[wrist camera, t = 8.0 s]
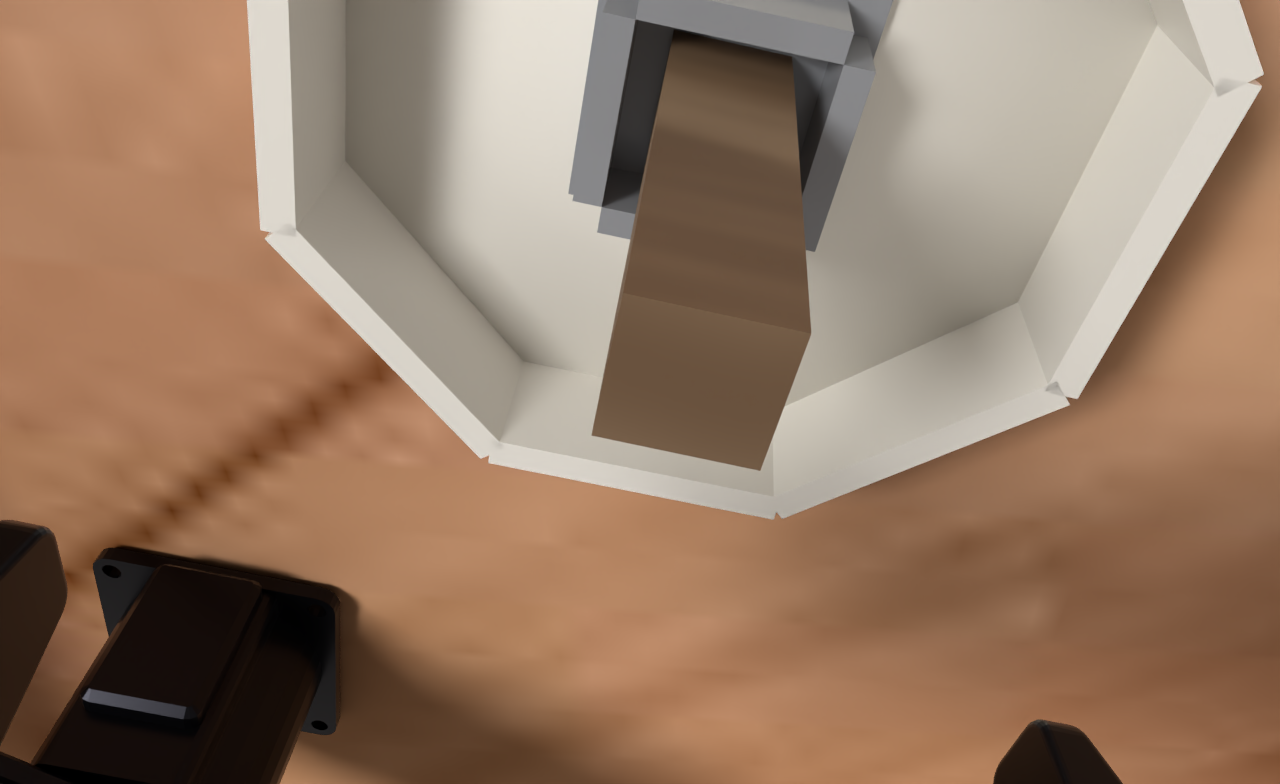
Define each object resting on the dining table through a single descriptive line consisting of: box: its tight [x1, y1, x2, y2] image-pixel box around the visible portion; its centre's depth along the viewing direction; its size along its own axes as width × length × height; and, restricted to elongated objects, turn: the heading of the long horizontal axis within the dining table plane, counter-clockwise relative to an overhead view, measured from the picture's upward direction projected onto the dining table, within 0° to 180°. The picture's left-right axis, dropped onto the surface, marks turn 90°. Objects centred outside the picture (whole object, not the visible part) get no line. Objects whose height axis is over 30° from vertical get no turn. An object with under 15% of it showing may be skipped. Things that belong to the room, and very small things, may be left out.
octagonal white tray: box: [247, 0, 1264, 520], centre depth 17 cm, size 14×14×3 cm
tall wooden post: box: [591, 30, 811, 471], centre depth 14 cm, size 2×2×8 cm
